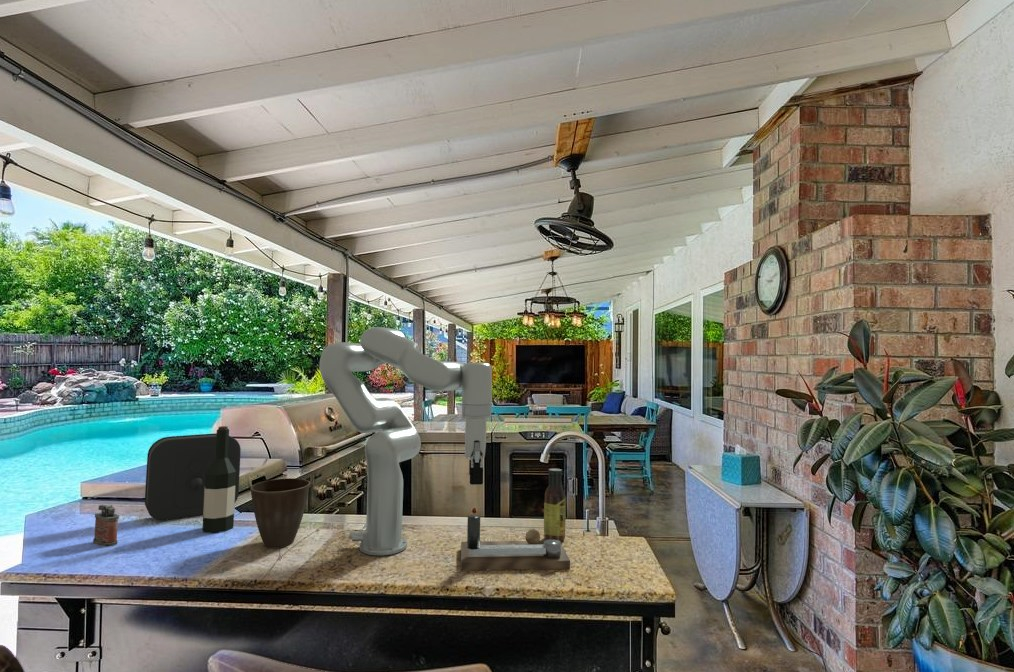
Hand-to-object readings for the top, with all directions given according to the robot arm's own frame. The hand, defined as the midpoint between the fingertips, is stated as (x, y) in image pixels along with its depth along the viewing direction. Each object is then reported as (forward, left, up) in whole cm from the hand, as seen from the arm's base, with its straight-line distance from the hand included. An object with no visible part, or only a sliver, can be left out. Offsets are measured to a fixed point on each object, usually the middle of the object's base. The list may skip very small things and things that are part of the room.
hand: (475, 479), depth 125 cm
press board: (+10, +4, -21) cm, 24 cm away
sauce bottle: (+24, +18, -21) cm, 37 cm away
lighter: (-99, +19, -22) cm, 103 cm away
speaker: (-90, +44, -22) cm, 102 cm away
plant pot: (-53, +17, -21) cm, 60 cm away
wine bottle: (-75, +30, -21) cm, 84 cm away
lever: (+10, 0, -19) cm, 21 cm away
